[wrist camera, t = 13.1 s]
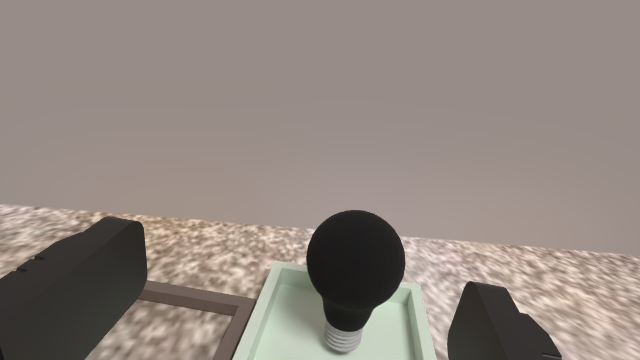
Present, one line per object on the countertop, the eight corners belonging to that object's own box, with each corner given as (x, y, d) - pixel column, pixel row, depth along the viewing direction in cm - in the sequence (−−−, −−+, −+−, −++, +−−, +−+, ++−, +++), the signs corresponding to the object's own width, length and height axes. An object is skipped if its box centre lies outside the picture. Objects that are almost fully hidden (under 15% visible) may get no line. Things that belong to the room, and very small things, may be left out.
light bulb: (309, 307, 27) (323, 188, 23) (386, 326, 26) (413, 204, 22) (285, 372, 22) (298, 230, 18) (381, 398, 21) (416, 253, 17)
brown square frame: (-23, 425, 18) (-27, 411, 17) (120, 285, 28) (118, 275, 28) (187, 470, 17) (187, 457, 16) (255, 309, 27) (256, 299, 27)
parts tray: (218, 420, 19) (218, 392, 18) (273, 282, 30) (274, 260, 29) (443, 465, 18) (453, 438, 17) (414, 305, 29) (419, 284, 28)
